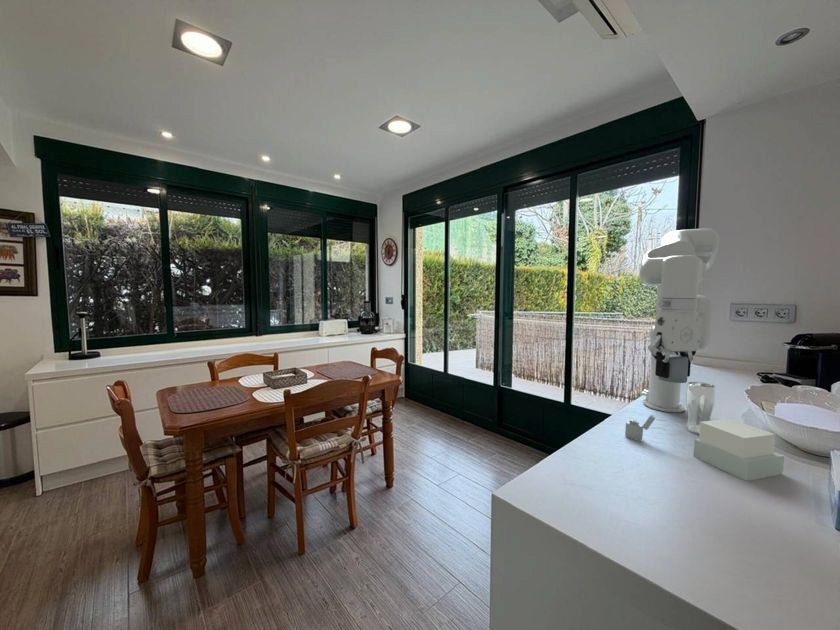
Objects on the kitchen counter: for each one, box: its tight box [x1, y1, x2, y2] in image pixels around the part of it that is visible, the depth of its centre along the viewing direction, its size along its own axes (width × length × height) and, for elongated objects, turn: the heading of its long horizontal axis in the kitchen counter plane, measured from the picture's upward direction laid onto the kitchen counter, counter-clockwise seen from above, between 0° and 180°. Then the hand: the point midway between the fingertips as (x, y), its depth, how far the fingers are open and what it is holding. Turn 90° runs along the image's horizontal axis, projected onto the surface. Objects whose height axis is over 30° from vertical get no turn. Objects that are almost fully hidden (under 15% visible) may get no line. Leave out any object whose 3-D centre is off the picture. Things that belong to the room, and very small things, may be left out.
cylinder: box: [658, 354, 688, 384], centre depth 86 cm, size 6×6×6 cm
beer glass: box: [685, 381, 716, 435], centre depth 106 cm, size 7×7×15 cm
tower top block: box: [698, 418, 776, 459], centre depth 86 cm, size 10×10×5 cm
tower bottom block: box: [693, 438, 785, 482], centre depth 86 cm, size 12×12×5 cm
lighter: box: [624, 415, 657, 442], centre depth 100 cm, size 7×2×8 cm, turn 45°
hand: (672, 375), depth 87 cm, fingers closed on cylinder, 6 cm apart
